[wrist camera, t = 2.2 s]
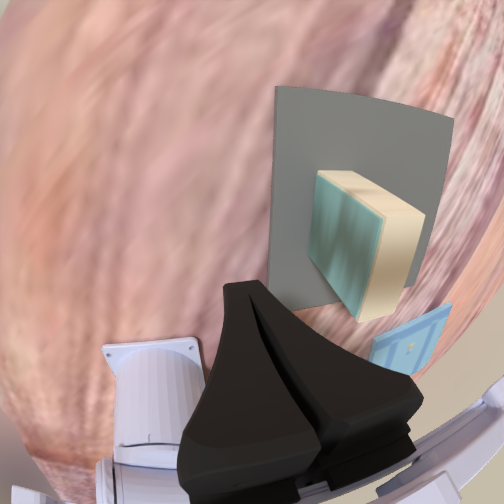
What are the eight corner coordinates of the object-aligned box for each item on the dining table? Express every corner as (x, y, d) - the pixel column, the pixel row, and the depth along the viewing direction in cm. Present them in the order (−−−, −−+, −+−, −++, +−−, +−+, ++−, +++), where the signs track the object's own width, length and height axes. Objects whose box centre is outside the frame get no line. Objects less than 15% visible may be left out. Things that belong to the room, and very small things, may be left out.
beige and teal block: (339, 251, 21) (393, 313, 15) (306, 255, 20) (355, 323, 14) (351, 170, 18) (425, 214, 12) (315, 170, 17) (383, 217, 11)
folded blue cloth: (421, 361, 38) (426, 367, 37) (357, 393, 37) (361, 400, 35) (446, 299, 31) (452, 305, 30) (371, 334, 29) (377, 342, 28)
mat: (411, 282, 26) (414, 285, 25) (265, 310, 23) (266, 314, 22) (449, 117, 18) (454, 118, 17) (275, 86, 14) (278, 86, 14)
